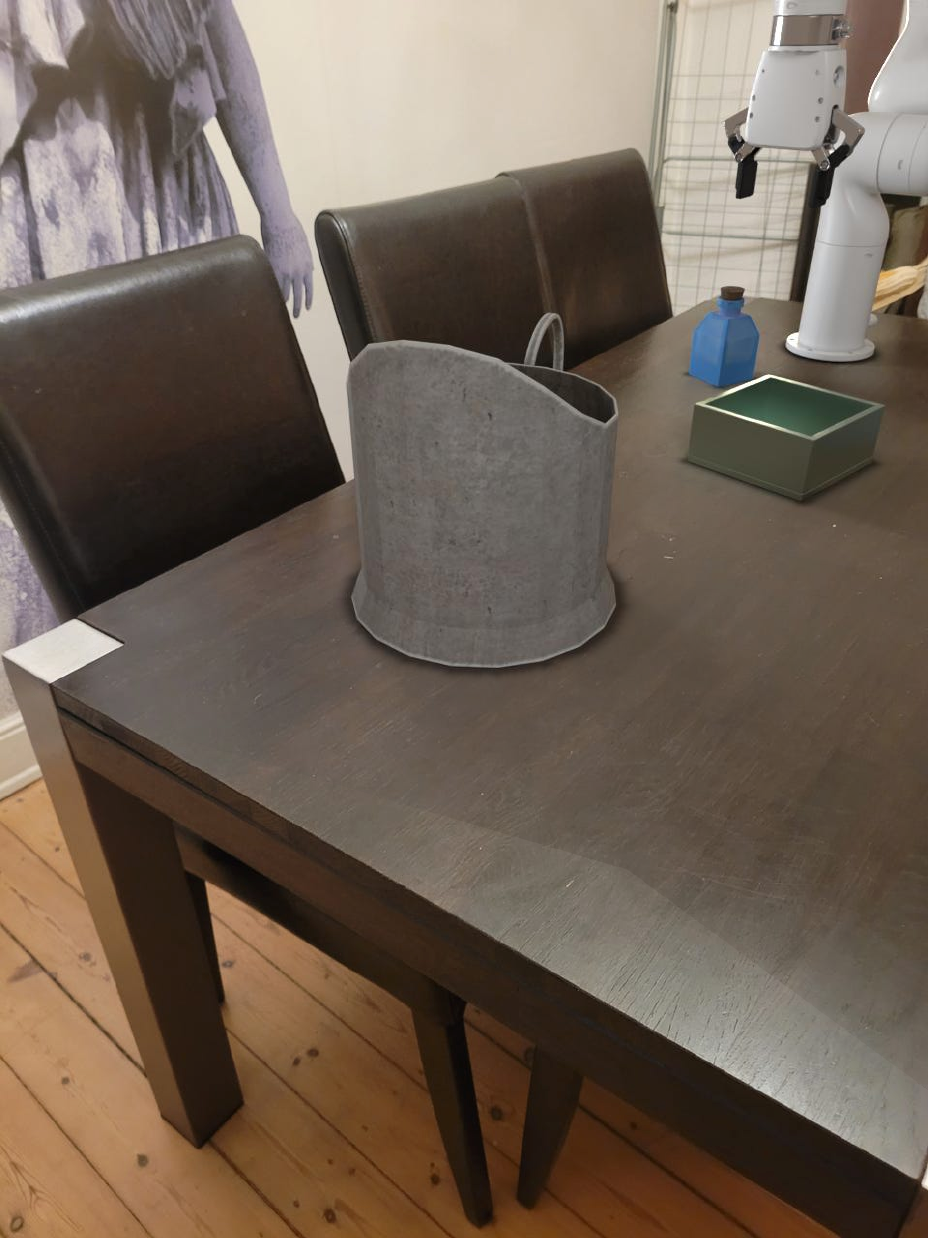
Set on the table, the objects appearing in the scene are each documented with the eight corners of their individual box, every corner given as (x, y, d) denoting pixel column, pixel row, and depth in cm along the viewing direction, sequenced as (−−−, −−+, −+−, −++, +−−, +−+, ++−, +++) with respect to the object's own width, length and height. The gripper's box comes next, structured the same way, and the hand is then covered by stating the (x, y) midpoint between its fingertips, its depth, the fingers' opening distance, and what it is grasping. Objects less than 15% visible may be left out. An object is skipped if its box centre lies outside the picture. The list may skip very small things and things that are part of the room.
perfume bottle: (717, 386, 127) (730, 296, 120) (688, 374, 131) (699, 286, 125) (752, 379, 129) (766, 290, 122) (722, 367, 134) (735, 281, 127)
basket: (759, 428, 114) (768, 373, 110) (871, 462, 105) (885, 405, 101) (687, 460, 106) (694, 403, 102) (801, 501, 97) (813, 440, 93)
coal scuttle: (303, 632, 77) (264, 330, 64) (452, 482, 102) (447, 241, 88) (570, 694, 70) (591, 367, 56) (661, 517, 94) (691, 259, 80)
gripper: (896, 33, 100) (862, 205, 109) (753, 33, 110) (733, 190, 119) (865, 36, 95) (832, 214, 105) (719, 35, 106) (701, 198, 115)
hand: (779, 201), depth 112 cm, fingers open, 9 cm apart
